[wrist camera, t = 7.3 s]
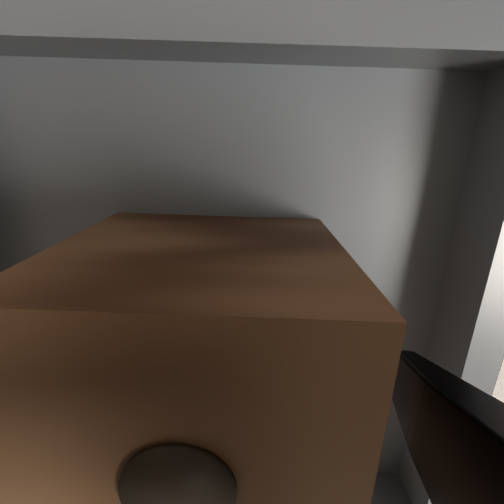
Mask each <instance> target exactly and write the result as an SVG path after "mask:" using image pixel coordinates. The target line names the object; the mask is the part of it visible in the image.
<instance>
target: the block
mask: <svg viewBox="0 0 504 504" xmlns="http://www.w3.org/2000/svg"><path fill="white" fill-rule="evenodd" d="M406 325H407V322H406V321H405V320H404V319H403V317H402V316H401V315H400V314H399V313H398V311H397V310H396V309H395V308H394V307H393V305H392V304H391V303H390V302H389V301H388V300H387V298H386V297H385V296H384V295H383V294H382V292H381V291H380V290H379V289H378V288H377V286H376V285H375V284H374V283H373V282H372V281H371V279H370V278H369V277H368V276H367V275H366V273H365V272H364V271H363V270H362V269H361V268H360V266H359V265H358V264H357V263H356V262H355V260H354V259H353V258H352V257H351V256H350V254H349V253H348V252H347V251H346V250H345V249H344V247H343V246H342V245H341V244H340V243H339V241H338V240H337V239H336V238H335V237H334V235H333V234H332V233H331V232H330V231H329V230H328V228H327V227H326V226H325V225H324V224H323V222H322V221H321V220H320V219H293V218H264V217H235V216H206V215H177V214H148V213H119V212H118V213H116V214H114V215H112V216H110V217H108V218H106V219H104V220H102V221H100V222H98V223H96V224H94V225H92V226H90V227H88V228H86V229H85V230H83V231H81V232H79V233H77V234H75V235H73V236H71V237H69V238H67V239H65V240H63V241H61V242H59V243H57V244H55V245H53V246H51V247H49V248H47V249H45V250H43V251H41V252H39V253H37V254H35V255H34V256H32V257H30V258H28V259H26V260H24V261H22V262H20V263H18V264H16V265H14V266H12V267H10V268H8V269H6V270H4V271H2V272H0V504H371V500H372V495H373V490H374V485H375V480H376V475H377V470H378V465H379V460H380V455H381V450H382V445H383V440H384V435H385V430H386V425H387V420H388V415H389V410H390V405H391V400H392V395H393V390H394V385H395V380H396V375H397V370H398V365H399V360H400V355H401V350H402V345H403V340H404V335H405V330H406Z"/></svg>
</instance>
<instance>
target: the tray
mask: <svg viewBox="0 0 504 504" xmlns="http://www.w3.org/2000/svg"><path fill="white" fill-rule="evenodd" d="M118 212H119V213H148V214H177V215H206V216H235V217H264V218H293V219H320V220H321V221H322V222H323V224H324V225H325V226H326V227H327V228H328V230H329V231H330V232H331V233H332V234H333V235H334V237H335V238H336V239H337V240H338V241H339V243H340V244H341V245H342V246H343V247H344V249H345V250H346V251H347V252H348V253H349V254H350V256H351V257H352V258H353V259H354V260H355V262H356V263H357V264H358V265H359V266H360V268H361V269H362V270H363V271H364V272H365V273H366V275H367V276H368V277H369V278H370V279H371V281H372V282H373V283H374V284H375V285H376V286H377V288H378V289H379V290H380V291H381V292H382V294H383V295H384V296H385V297H386V298H387V300H388V301H389V302H390V303H391V304H392V305H393V307H394V308H395V309H396V310H397V311H398V313H399V314H400V315H401V316H402V317H403V319H404V320H405V321H406V322H407V325H406V330H405V335H404V340H403V345H402V350H410V351H413V352H415V353H417V354H419V355H421V356H422V357H424V358H426V359H428V360H429V361H431V362H433V363H435V364H436V365H438V366H440V367H442V368H443V369H445V370H447V371H449V372H450V373H452V374H454V375H456V376H457V377H459V378H461V379H463V380H464V381H466V382H468V383H470V384H471V385H473V386H475V387H477V388H478V389H480V390H482V391H484V392H485V393H487V394H489V395H491V396H492V394H493V391H494V387H495V384H496V381H497V378H498V374H499V371H500V368H501V365H502V361H503V358H504V0H0V272H2V271H4V270H6V269H8V268H10V267H12V266H14V265H16V264H18V263H20V262H22V261H24V260H26V259H28V258H30V257H32V256H34V255H35V254H37V253H39V252H41V251H43V250H45V249H47V248H49V247H51V246H53V245H55V244H57V243H59V242H61V241H63V240H65V239H67V238H69V237H71V236H73V235H75V234H77V233H79V232H81V231H83V230H85V229H86V228H88V227H90V226H92V225H94V224H96V223H98V222H100V221H102V220H104V219H106V218H108V217H110V216H112V215H114V214H116V213H118ZM371 504H431V501H430V499H429V497H428V495H427V492H426V490H425V488H424V485H423V483H422V481H421V479H420V476H419V474H418V472H417V469H416V467H415V465H414V463H413V460H412V458H411V455H410V453H409V450H408V447H407V445H406V442H405V439H404V436H403V432H402V429H401V426H400V423H399V420H398V417H397V414H396V411H395V408H394V404H393V401H392V400H391V405H390V410H389V415H388V420H387V425H386V430H385V435H384V440H383V445H382V450H381V455H380V460H379V465H378V470H377V475H376V480H375V485H374V490H373V495H372V500H371Z"/></svg>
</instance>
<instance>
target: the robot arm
mask: <svg viewBox="0 0 504 504" xmlns="http://www.w3.org/2000/svg"><path fill="white" fill-rule="evenodd" d="M392 401H393V404H394V408H395V411H396V414H397V417H398V420H399V423H400V426H401V429H402V432H403V436H404V439H405V442H406V445H407V447H408V450H409V453H410V455H411V458H412V460H413V463H414V465H415V467H416V469H417V472H418V474H419V476H420V479H421V481H422V483H423V485H424V488H425V490H426V492H427V495H428V497H429V499H430V501H431V504H504V403H503V402H501V401H499V400H498V399H496V398H494V397H492V396H491V395H489V394H487V393H485V392H484V391H482V390H480V389H478V388H477V387H475V386H473V385H471V384H470V383H468V382H466V381H464V380H463V379H461V378H459V377H457V376H456V375H454V374H452V373H450V372H449V371H447V370H445V369H443V368H442V367H440V366H438V365H436V364H435V363H433V362H431V361H429V360H428V359H426V358H424V357H422V356H421V355H419V354H417V353H415V352H413V351H410V350H401V355H400V360H399V365H398V370H397V375H396V380H395V385H394V390H393V395H392Z"/></svg>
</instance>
